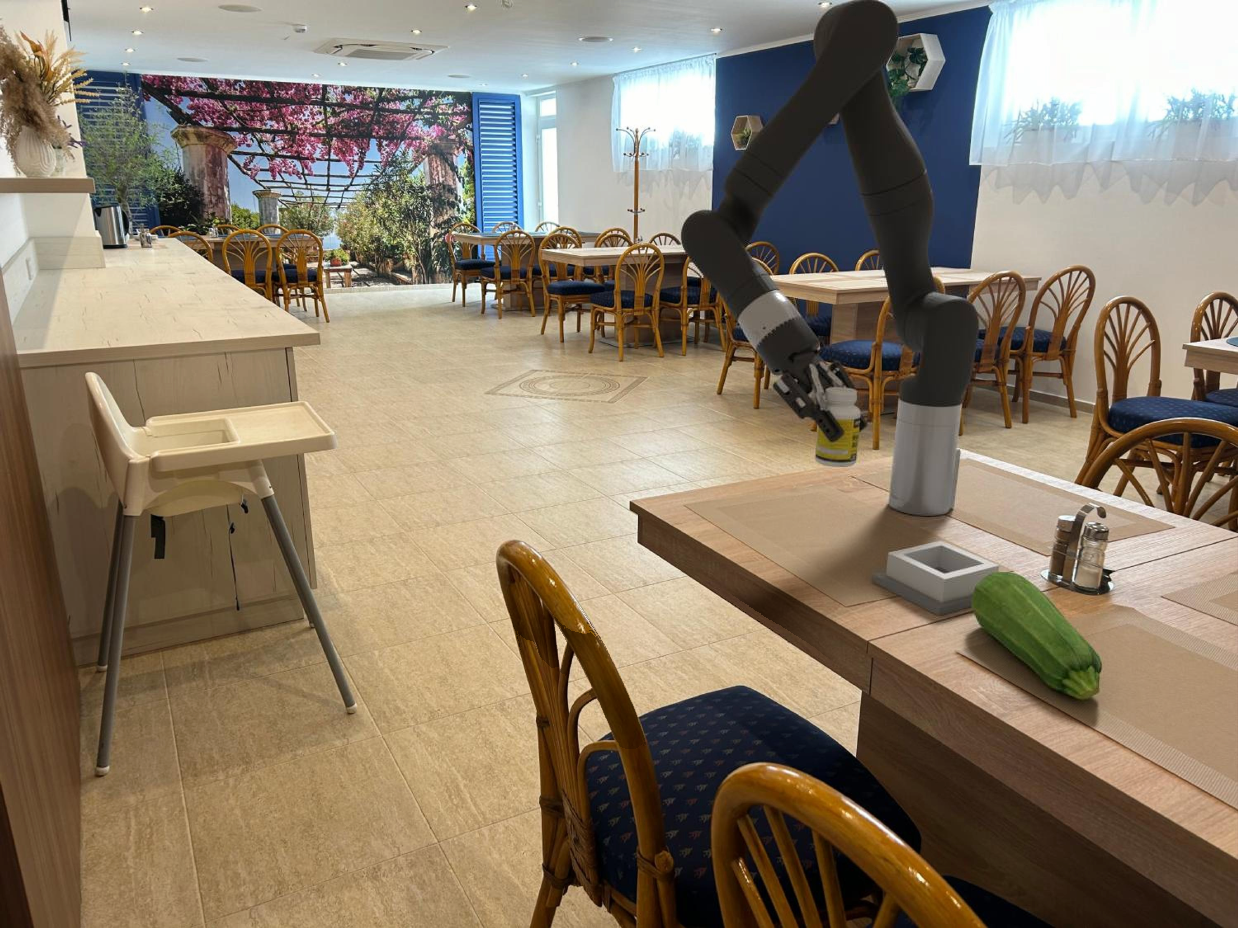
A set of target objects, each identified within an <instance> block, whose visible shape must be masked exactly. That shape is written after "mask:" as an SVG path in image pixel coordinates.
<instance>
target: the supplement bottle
mask: <svg viewBox="0 0 1238 928" xmlns="http://www.w3.org/2000/svg"><path fill="white" fill-rule="evenodd" d="M856 390H857V389H856ZM856 390H855V389H851V388H846V386H844V387H830V388H827V389H826V393H825V400H826V401H827V402H825V404H826V407H827V410H826V411H828V410H830V412H831V413H832V415H833V416H834V417H835V419H836V420H837V422H838V423H839V424H840V426H841V427H842V429H843V430H844V435H843V436H842V437H841V438H839V439H838V440H837V441H835V442H830V441H829V440H828V438H827V437H826V436H825V435H824V433H823V432H822V430H821V429H820V427H819V426H818V425H816V426H817V429H816V441H815V450H814V451H815V452H814V453H815V454H814V460H815V462H816V463H818V464H820V465H822V466H827V467H832V468H848V467H852V466H854V465H855V464H856V463H857V459H858V458H857V457H858V445H859V437H860V432H859V426H860V414H862V413H861V409H860V408H859V407H858V406H856V405H855V403H856V402H857V397H858V395H857V392H858V390H857V391H856ZM854 405H855V406H854Z"/></svg>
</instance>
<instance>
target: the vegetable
mask: <svg viewBox="0 0 1238 928" xmlns="http://www.w3.org/2000/svg"><path fill="white" fill-rule="evenodd" d="M971 605H972V607H971V609H972V611H973V614H974V616H975V620H976V621H977V623H978V624H979V626H980V627H981V628H982V629H984V630H985V631H986V633H989V634H990V635H991V636H992V637H994V638H995V639H996V640H997V641H999V643H1001V644H1002V645H1003V646H1004V647H1005V648H1006V649H1007V650H1009V651H1010V652H1011V653H1012V654H1013V655H1014V656H1015V657H1017V658H1019V660H1021V661H1023V662H1024V663H1025V664H1026V665H1027V666H1029V667H1030V668H1031V669H1032V670H1033V671H1034V672H1035V673H1036V675H1038V677H1039V678H1041V680H1042V681H1043V682H1044V683H1045V685H1047V686H1048V687H1050V688H1052V689H1053V690H1055V691H1058V692H1061V693H1062V694H1064V695H1066V696H1071V697H1073V698H1075V699H1078V700H1089V699H1090V698H1092V697H1093V696H1095V695H1097V694H1099V693H1100V680H1101V676H1100V674H1101V672H1102V669H1103V662H1102V659H1101V657H1100V656H1099V654H1098V653H1097V651H1096V650H1095V648H1094V647H1092V646H1091V644H1090V643H1089V642H1088V641H1087V640H1086V639H1085V638H1084V637H1083V636H1082V635H1081V633H1080V632H1078V630H1077V629H1076V628H1075V627H1074V626H1073V625H1072V624H1071V623H1070V622H1069V620H1067V619H1066V617H1065V616H1064V615H1063V614H1062V613H1061V611H1060V610H1059V608H1057V605H1056V606H1055V604H1054V603H1053V601H1051V599H1050V598H1049V597H1048V596H1047V595H1046V594H1045V593H1044V592H1043V591H1041V589H1039V587H1037V586H1036V585H1035V584H1034V583H1032V582H1031V581H1030V580H1029V579H1027V578H1025V576H1022V575H1020V574H1018V573H1016V572H1007V571H998V572H994V573H992V574H989V575H988V576H986V577H985V578H983V579H982V580H981V581H980V582H979V583H978V584H977V585H976V586H975V589H974V592H973V596H972V601H971Z"/></svg>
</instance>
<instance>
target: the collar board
mask: <svg viewBox="0 0 1238 928" xmlns="http://www.w3.org/2000/svg"><path fill="white" fill-rule="evenodd" d="M999 570H1000V565H999V564H997V563H995V562H992V561H990V560H987V559H986V558H983V557H980V556H978V555H976V554H973V553H971V552H969V551H967V550H964V549H961V548H959V547H957V546H954V545H953V544H949V543H947V542H945V541H944V540H938V541H933V542H929V543H925V544H920V545H917V546H913V547H908V548H903V549H899V550H894V551H889V552H888V554H887V563H886V570H885V571H881V572H877V573H872V579H871V580H872V581H871V582H873V583H874V584H877V585H878V586H880V587H881V588H884V589H886V590H888V591H890V592H892V593H894V594H895V595H897V596H900V597H902V598H904V599H905V600H907V601H909V602H911V603H913V604H915V605H917V606H919V607H920V608H922V609H924V610H927V611H929V612H931V613H932V614H935V615H936V616H943V615H947V614H949V613H954V612H957V611H961V610H964V609H967V608H972V605H971V601H972V596H973V592H974V589H975V586H976V585H977V584H978V583H979V582H980V581H981V580H982V579H983V578H985V577H986V576H988V575H989V574H992V573H994V572H1000V571H999Z"/></svg>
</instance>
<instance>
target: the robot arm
mask: <svg viewBox="0 0 1238 928" xmlns="http://www.w3.org/2000/svg"><path fill="white" fill-rule="evenodd" d="M899 34H900V27H899V21H898V17H897V15H896V14H895V11H894V9H892V7H891V6H890V5H889V4H888V3H886V2H885V1H883V0H849V1H847V2H842V3H840V4H836V5H834V6H832V7H830V8H829V9H828V10H827V11H826V12H825V13H824V14H823V15H822V16H821V18H819V20H818V23H817V24H816V27H815V30H814V34H813V41H812V42H813V52H814V56H815V60H816V62H815V64H814V65H813V67H812V69H811V70H810V72H809V73H808V75H807V76H806V77H805V79H804V80H803V82H802V83H801V84H800V86H799V87H798V89H796V91H795V92H794V94H793V95H792V96H791V97H790V98H789V99H788V100H787V102H785V104H784V105H783V106H782V107H781V108H780V109H779V110H778V111H777V113H775V114H774V116H772V117H771V119H770V120H769V121H768V122H766V124H765V125H764V126H763V127H762V128H761V129H760V131H759V132H758V133H757V134H756V135H755V137H754V138H752V140H751V142H750V143H749V144H748V145H747V147H746V148H745V150H744V151H743V152H742V154H741V155H740V157H739V158H738V160H737V161H736V162H735V164H734V165H733V167H732V168H731V169H730V171H729V172H728V174H727V175H726V177H725V179H724V182H723V185H722V189H723V193H724V194H723V195H724V196H723V199H722V201H721V202H720V204H719V206H718V208H717V210H716V211H715V210H712V209H701V210H697V211H694V212H693V213H691V214H690V215H689V216H687V218H686V219H685V221H684V222H683V224H682V226H681V230H680V231H681V232H680V241H681V245H682V248H683V250H684V252H685V255H687V257H688V259H689V260H690V261H691V262H692V263H693V265H694V266H695V268H696V269H697V270H698V271H699V272H700V273H701V274H702V275H703V277H704V278H705V279H706V280H707V281H708V282H709V283H710V284H711V285H712V286H713V288H715V290H716V291H717V293H718V294H719V295H720V297H721V299H722V301H723V302H724V304H725V306H726V307H727V309H728V310H729V311H730V313H731V314H732V315H733V317H734V318H735V320H736V321H737V322H738V324H739V326H740V328H741V330H742V332H743V334H744V336H745V337H746V338H747V339H746V340H748V341H749V343H750V345H751V346H752V348H753V349H754V350H755V352H756V353H757V355H759V357H760V358H761V360H762V361H763V363H764V364H765V366H766V367H767V369H768V370H769V372H770V373H771V374H772V375H773V376H777V377H778V376H779V378H778V379H777V380H776V381H775V382H774V383H772V387H773V389H774V390H775V392H776V393H777V394H778V395H779V397H781V399H783V400H784V402H785V403H786V404H787V405H788V406H789V408H791V410H792V411H793V412H794V413H795V415H797V417H798V418H799V419H800V420H804V419H805V418H808V419H809V420H810V421H813V422H815V423H816V426H819V427H820V429H821V430H822V432H823V433H824V435H825V436H826V437H827V438H828V440H829V441H830V442H835V441H837V440H838V439H839V438H841V437H842V436H843V435H844V430H843V429H842V427H841V426H840V424H839V423H838V422H837V420H836V419H835V417H834V416H833V415H832V413H831V412H830V410H828V411H826V410H827V407H826V402H827V401H826V400H825V393H826V389H827V388H831V387H845V388H851V389H855V390H856V391H857V396H858V395H859V392H858V390H857V388H856V387H855V385H854V383H853V382H852V380H851V378H850V376H849V375H848V373H847V371H846V370H845V369H846V368H844V366H843V365H842V363H841V361H839V360H837V359H835V360H834V361H833V362H831V363H827V362H826V361H825V360H824V359H823V358H822V357H821V356H820V355H818V349H819V348H820V344H821V343H820V340H819V338H818V337H817V335H816V334H815V332H813V330H812V329H811V327H810V326H809V325H808V323H807V322H806V321H805V319H804V318H803V317H802V315H801V313H800V312H799V311H798V309H797V308H796V307H795V305H794V304H793V302H792V301H790V300H789V298H788V297H787V296H785V294H784V293H783V292H782V290H780V288H779V286H777V284H776V283H775V282H774V280H773V278H772V277H771V276H770V275H769V273H768V271H767V270H765V268H764V267H763V266H762V265H760V264H759V262H757V261H756V260H755V259H754V258H753V257H752V256H751V255H750V253H749V251H748V250H747V247H748V246H749V244H750V242H751V241H752V238H753V236H754V234H755V232H756V230H757V229H758V226H759V225H760V224H759V223H760V222H761V220H762V217H763V215H764V212H765V211H766V209H767V207H768V206H769V205H770V204H771V203H772V201H773V199H774V198H775V197H776V196H777V194H778V193H779V191H781V189H782V188H783V186H784V184H785V183H786V182H787V180H789V177H790V176H791V175H792V173H793V172H794V171H795V169H796V168H797V167H798V165H799V164H800V162H801V161H802V160H803V158H804V157H805V156H806V154H807V153H808V151H809V150H810V149H811V148H812V147H813V145H814V143H815V142H816V141H817V140H818V138H819V137H820V136H821V135H822V134H823V132H824V131H825V129H826V128H827V127H828V126H829V124H830V123H831V122H832V121H833V120H834V119H835V118H836V116H839V119H840V123H841V125H842V128H843V130H842V131H843V133H844V137H845V141H846V146H847V150H848V153H849V157H850V160H851V164H852V167H853V171H854V173H855V174H854V175H855V177H856V182H857V186H858V189H859V193H860V196H861V200H862V203H863V207H864V210H865V213H866V216H867V218H868V219H867V220H868V222H869V225H870V227H871V230H872V235H873V237H874V241H875V245H876V248H877V251H878V256H879V259H880V262H881V265H882V266H881V267H882V268H883V271H884V276H885V280H886V285H887V291H888V295H889V296H888V297H889V303H890V308H891V314H892V319H893V324H894V327H895V331H896V334H897V336H898V338H899V340H900V342H901V343H902V344H903V345H904V347H906V348H908V349H909V350H911V351H913V352H914V353H915V352H916V353H919V354H921V355H920V361H919V366H918V370H917V372H916V374H914V375H913V376H909V377H906V378H904V379H903V380H902V381H901V383H900V386H899V395H898V404H897V415H896V425H895V432H894V433H895V435H894V443H893V444H894V446H893V457H892V466H891V474H890V475H891V476H890V482H889V483H890V484H889V486H890V487H889V495H888V496H889V497H888V505H889V507H891V508H892V509H894V510H896V511H898V512H901V513H904V514H909V515H914V516H915V515H916V516H930V517H931V516H941V515H945V514H947V513H948V512H949V511H950V509H953V508H955V502H956V495H957V493H956V492H957V488H958V487H957V485H958V484H957V483H958V477H959V469H960V461H961V450H960V448H958V442H959V441H958V439H959V434H960V431H959V430H960V426H961V425H960V424H961V417H962V407H963V399H964V395H965V392H966V390H967V388H968V386H969V384H970V382H971V379H972V376H973V375H972V374H973V369H974V364H975V357H976V352H977V347H978V340H979V334H980V333H979V332H980V321H979V320H980V319H979V315H978V310H977V309H976V306H975V305H974V304H973V303H972V302H971V301H970V300H968V299H966V298H964V297H961V296H957V295H950V294H944V293H940V291H939V289H938V286H937V285H936V283H935V279H934V274H933V272H932V268H931V265H930V259H929V253H928V252H929V241H930V238H931V233H932V227H933V222H934V217H935V216H934V215H935V199H934V195H933V190H932V187H931V182H930V179H929V178H930V177H929V174H928V172H927V168H926V164H925V162H924V158H923V156H922V153H921V151H920V149H919V148H918V146H917V143H916V141H915V140H914V138H913V136H912V135H911V133H910V130H909V129H908V128H907V126H906V125H905V123H904V121H903V120H902V119H901V117H900V115H899V113H898V111H897V110H896V108H895V105H894V104H893V102H892V99H891V96H890V94H889V90H888V86H887V83H886V79H885V78H886V77H885V74H884V73H885V72H884V69H883V67H884V65H885V64H886V63H888V61H889V60H890V59H891V57H892V56H893V54H894V52H895V50H896V48H897V43H898V41H899V36H900V35H899ZM854 406H856V405H855V404H854ZM868 425H869V424H868V421H867V420H866V419H865V417H864V416H863V414H862V413H861V414H860V426H859V433H861V432H862V431H864V429H866V428H868Z"/></svg>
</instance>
